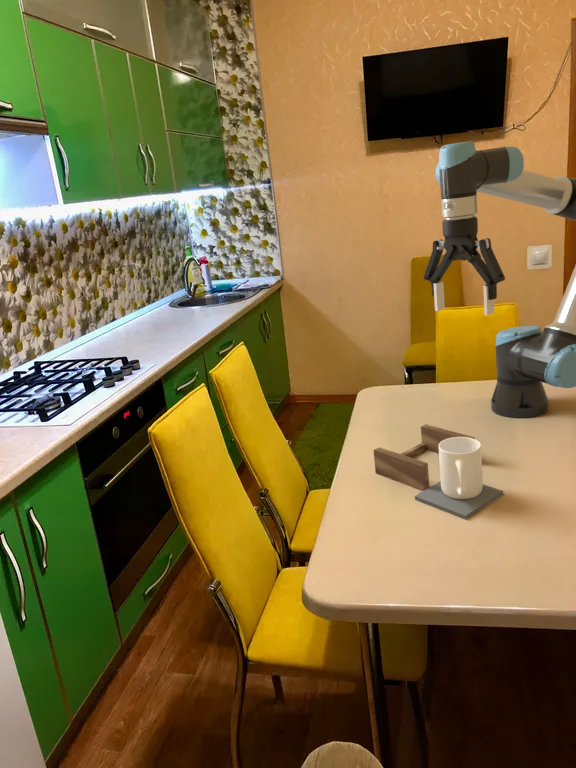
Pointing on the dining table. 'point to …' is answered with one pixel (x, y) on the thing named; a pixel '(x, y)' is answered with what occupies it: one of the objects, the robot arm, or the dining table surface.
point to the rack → (410, 468)
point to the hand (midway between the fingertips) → (463, 311)
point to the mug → (460, 467)
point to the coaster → (458, 500)
